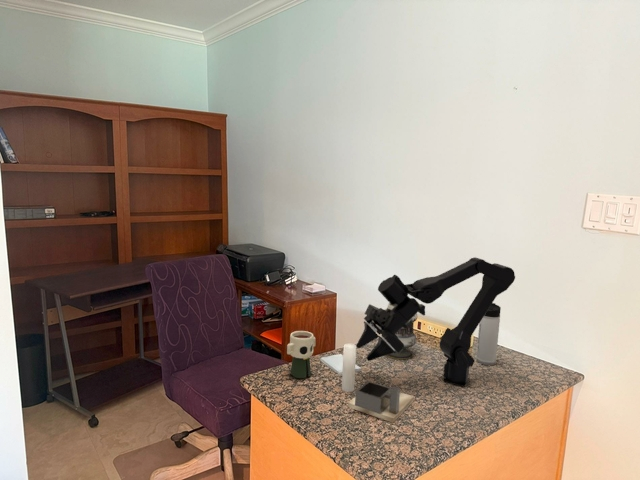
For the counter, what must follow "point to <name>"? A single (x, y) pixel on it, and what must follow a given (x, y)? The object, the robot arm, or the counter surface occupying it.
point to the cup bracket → (377, 397)
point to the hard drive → (336, 363)
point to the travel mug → (488, 336)
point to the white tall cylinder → (348, 367)
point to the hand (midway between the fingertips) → (362, 353)
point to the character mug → (301, 352)
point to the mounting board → (386, 415)
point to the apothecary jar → (404, 337)
